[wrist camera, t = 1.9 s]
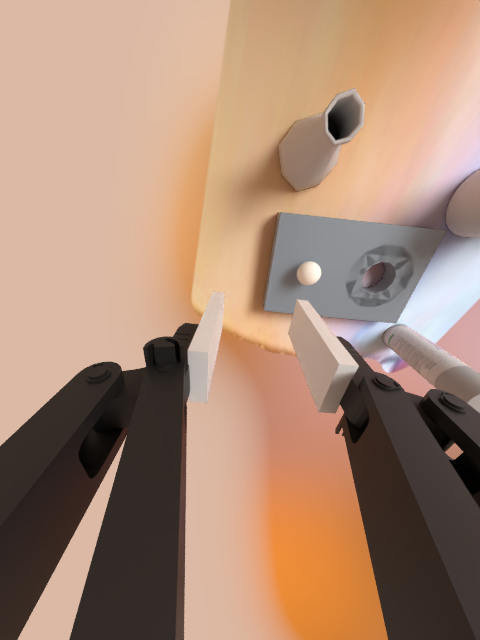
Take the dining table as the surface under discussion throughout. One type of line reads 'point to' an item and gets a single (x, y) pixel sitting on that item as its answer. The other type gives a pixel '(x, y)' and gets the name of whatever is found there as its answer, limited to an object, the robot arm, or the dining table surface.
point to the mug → (465, 208)
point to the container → (435, 364)
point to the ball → (308, 273)
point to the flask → (320, 140)
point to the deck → (347, 265)
